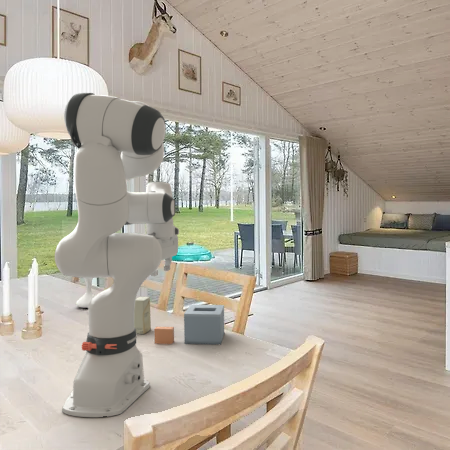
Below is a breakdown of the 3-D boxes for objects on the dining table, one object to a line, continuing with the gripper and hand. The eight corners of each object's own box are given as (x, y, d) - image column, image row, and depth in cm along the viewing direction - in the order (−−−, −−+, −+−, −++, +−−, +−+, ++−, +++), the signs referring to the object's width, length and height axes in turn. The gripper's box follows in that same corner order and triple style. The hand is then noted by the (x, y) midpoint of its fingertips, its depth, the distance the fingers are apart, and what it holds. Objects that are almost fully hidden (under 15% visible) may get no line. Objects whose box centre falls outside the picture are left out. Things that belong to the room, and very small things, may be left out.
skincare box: (144, 334, 144) (143, 300, 144) (132, 333, 145) (132, 300, 145) (151, 329, 151) (150, 296, 150) (139, 328, 152) (139, 296, 151)
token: (172, 344, 134) (172, 329, 134) (154, 343, 135) (154, 328, 135) (174, 341, 137) (173, 326, 137) (156, 341, 138) (156, 326, 137)
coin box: (220, 344, 133) (220, 314, 133) (184, 343, 134) (184, 313, 134) (224, 332, 145) (224, 305, 145) (191, 332, 146) (190, 304, 146)
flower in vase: (81, 303, 191) (80, 250, 190) (105, 303, 190) (104, 250, 189) (70, 310, 178) (68, 253, 177) (95, 310, 177) (94, 253, 176)
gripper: (154, 234, 123) (155, 280, 124) (181, 228, 142) (181, 268, 143) (135, 234, 125) (136, 279, 126) (164, 228, 144) (165, 267, 145)
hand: (160, 273), depth 135 cm, fingers open, 8 cm apart
